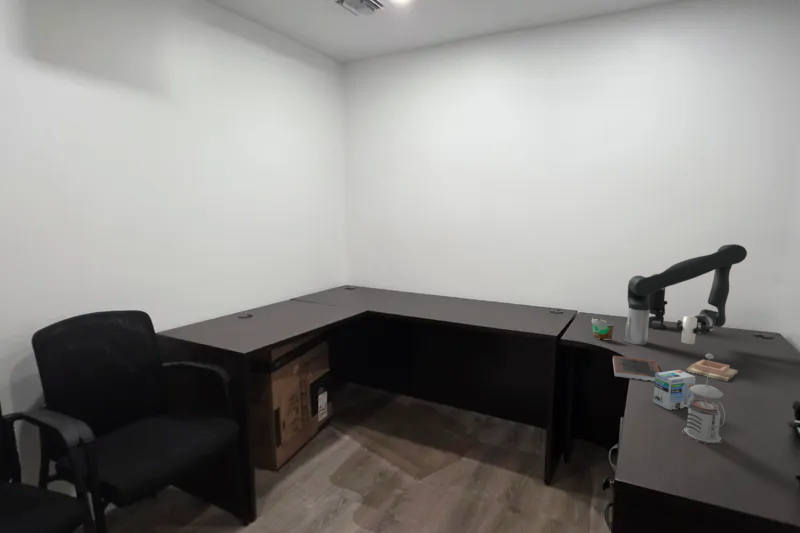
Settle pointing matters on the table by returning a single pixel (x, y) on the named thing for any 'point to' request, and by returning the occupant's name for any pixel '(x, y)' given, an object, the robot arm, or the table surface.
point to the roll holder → (712, 370)
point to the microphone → (657, 308)
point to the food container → (602, 328)
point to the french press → (704, 427)
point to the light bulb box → (673, 389)
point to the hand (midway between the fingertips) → (687, 329)
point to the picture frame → (635, 368)
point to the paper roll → (688, 330)
